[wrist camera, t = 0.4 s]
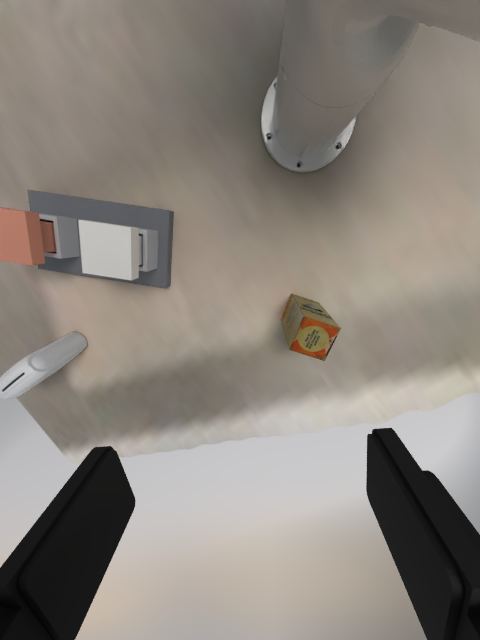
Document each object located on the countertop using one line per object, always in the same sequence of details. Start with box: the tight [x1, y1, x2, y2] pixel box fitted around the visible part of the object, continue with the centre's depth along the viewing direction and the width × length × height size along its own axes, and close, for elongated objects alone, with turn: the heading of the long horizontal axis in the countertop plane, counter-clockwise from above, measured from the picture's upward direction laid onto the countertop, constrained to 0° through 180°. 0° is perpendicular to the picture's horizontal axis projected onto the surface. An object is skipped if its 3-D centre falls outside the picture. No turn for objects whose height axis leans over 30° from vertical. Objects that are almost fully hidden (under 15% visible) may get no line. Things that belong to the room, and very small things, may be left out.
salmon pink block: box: [0, 207, 56, 265], centre depth 33 cm, size 6×6×6 cm
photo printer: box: [0, 332, 87, 399], centre depth 43 cm, size 10×4×12 cm, turn 126°
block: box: [28, 190, 174, 288], centre depth 38 cm, size 12×22×6 cm, turn 82°
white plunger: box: [78, 220, 143, 280], centre depth 33 cm, size 6×6×6 cm
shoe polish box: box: [281, 294, 341, 361], centre depth 37 cm, size 5×5×12 cm
